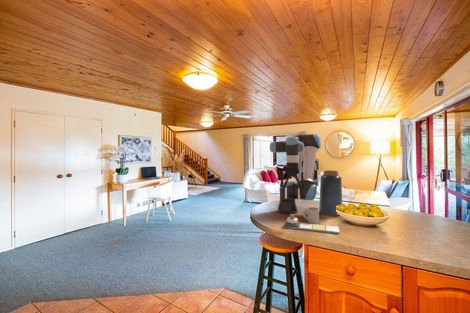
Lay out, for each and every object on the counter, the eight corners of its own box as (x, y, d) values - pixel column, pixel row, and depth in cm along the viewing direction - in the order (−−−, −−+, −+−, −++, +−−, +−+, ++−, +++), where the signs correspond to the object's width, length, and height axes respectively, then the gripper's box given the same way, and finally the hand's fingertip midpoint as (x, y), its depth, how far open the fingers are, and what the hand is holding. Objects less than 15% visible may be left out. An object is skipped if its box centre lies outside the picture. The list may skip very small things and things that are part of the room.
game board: (286, 222, 145) (286, 219, 145) (338, 228, 133) (338, 224, 133) (283, 227, 135) (283, 224, 134) (339, 234, 123) (339, 231, 123)
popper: (287, 219, 142) (287, 212, 142) (298, 220, 140) (298, 213, 140) (286, 222, 136) (286, 215, 136) (297, 224, 134) (297, 216, 134)
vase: (321, 215, 160) (321, 171, 159) (317, 209, 176) (317, 170, 175) (345, 216, 156) (345, 172, 155) (339, 210, 172) (339, 170, 171)
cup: (317, 224, 140) (317, 210, 139) (301, 222, 145) (301, 208, 145) (320, 221, 146) (320, 208, 146) (304, 219, 151) (304, 206, 151)
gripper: (274, 162, 137) (275, 198, 138) (309, 162, 130) (309, 201, 130) (277, 161, 144) (277, 196, 145) (309, 161, 137) (309, 198, 137)
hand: (292, 198), depth 138 cm, fingers open, 7 cm apart
